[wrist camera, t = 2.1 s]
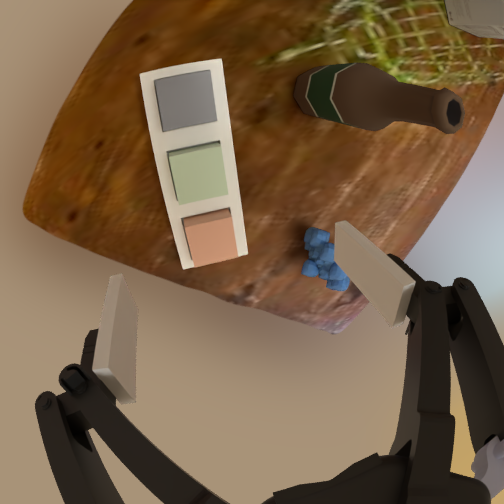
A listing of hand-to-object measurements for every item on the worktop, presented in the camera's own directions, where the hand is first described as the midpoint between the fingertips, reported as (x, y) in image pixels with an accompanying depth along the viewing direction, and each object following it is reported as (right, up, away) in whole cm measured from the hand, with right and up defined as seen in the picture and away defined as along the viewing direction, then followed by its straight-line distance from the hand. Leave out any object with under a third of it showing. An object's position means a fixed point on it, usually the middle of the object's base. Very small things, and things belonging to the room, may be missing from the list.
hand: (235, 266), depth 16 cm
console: (-6, +12, +20) cm, 25 cm away
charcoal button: (-7, +19, +14) cm, 24 cm away
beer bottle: (+10, +23, +19) cm, 32 cm away
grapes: (+10, +2, +31) cm, 33 cm away
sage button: (-6, +11, +18) cm, 22 cm away
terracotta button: (-5, +3, +23) cm, 24 cm away
